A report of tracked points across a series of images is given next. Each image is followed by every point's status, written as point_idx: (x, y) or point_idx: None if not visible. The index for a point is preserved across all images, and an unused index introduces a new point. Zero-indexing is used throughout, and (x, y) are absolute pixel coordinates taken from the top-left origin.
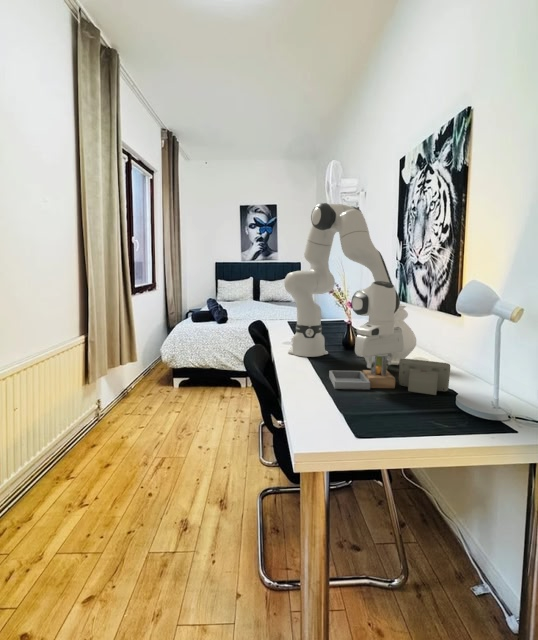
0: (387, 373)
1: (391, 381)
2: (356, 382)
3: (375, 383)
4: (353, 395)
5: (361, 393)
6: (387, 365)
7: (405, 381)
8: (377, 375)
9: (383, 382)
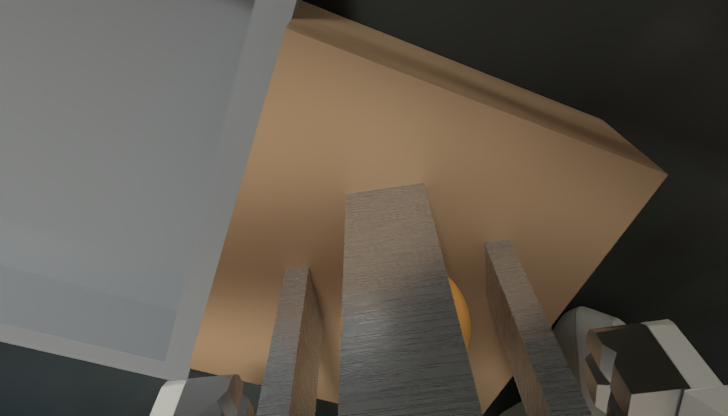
0: (536, 292)
1: None
2: (32, 348)
3: None
4: (6, 389)
5: (91, 373)
6: (584, 370)
7: None
8: None
9: None
